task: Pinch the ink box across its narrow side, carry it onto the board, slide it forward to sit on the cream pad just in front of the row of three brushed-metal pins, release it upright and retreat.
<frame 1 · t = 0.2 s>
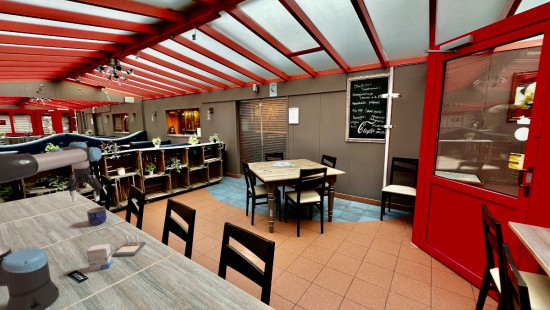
hand: (86, 200, 134), 28 cm above the table, fingers open, 13 cm apart
header board: (130, 250, 130), on the table
ink box: (101, 267, 115), on the table
planter: (98, 223, 164), on the table
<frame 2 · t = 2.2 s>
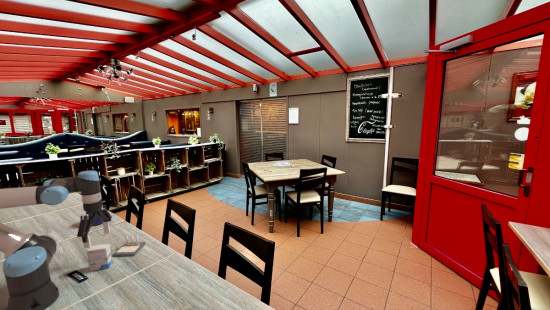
hand: (98, 240, 112), 16 cm above the table, fingers open, 13 cm apart
nothing on the table moved.
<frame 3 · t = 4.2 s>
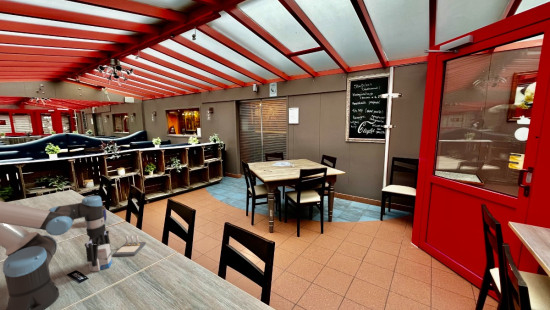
hand: (101, 266, 115), 0 cm above the table, fingers closed on ink box, 6 cm apart
ink box: (101, 267, 115), on the table, touching gripper
everything else where it was.
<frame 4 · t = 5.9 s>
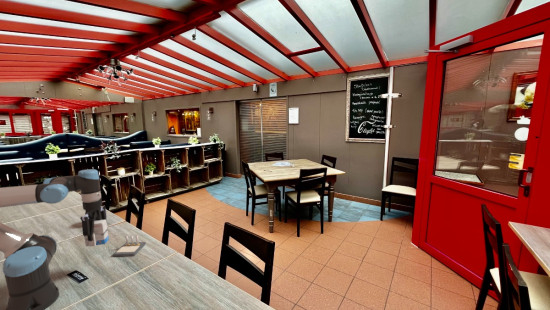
hand: (97, 242, 112), 14 cm above the table, fingers closed on ink box, 6 cm apart
ink box: (97, 243, 112), point 14 cm above the table, touching gripper
everything else where it was.
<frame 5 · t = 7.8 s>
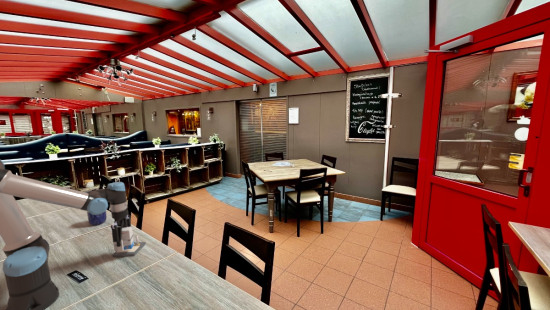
hand: (124, 247, 124), 5 cm above the table, fingers closed on ink box, 6 cm apart
ink box: (124, 248, 124), point 4 cm above the table, touching gripper
everything else where it was.
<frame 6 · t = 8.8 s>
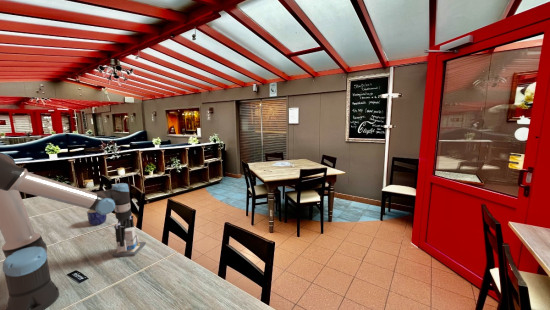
hand: (127, 247, 127), 3 cm above the table, fingers closed on ink box, 6 cm apart
ink box: (127, 248, 127), point 3 cm above the table, touching gripper
everything else where it was.
when the fingers open (3 cm above the table, at t = 10.9 s): ink box drops 1 cm, resting on header board.
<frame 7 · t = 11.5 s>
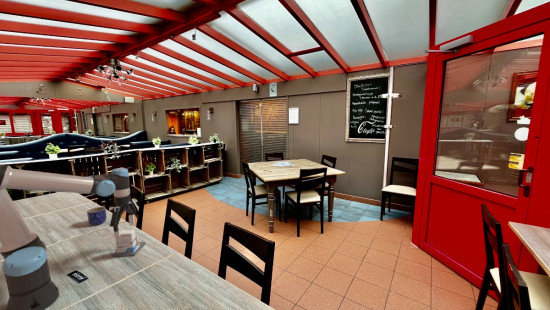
hand: (125, 230, 126), 14 cm above the table, fingers open, 13 cm apart
ink box: (127, 250, 127), point 1 cm above the table, touching header board
everything else where it was.
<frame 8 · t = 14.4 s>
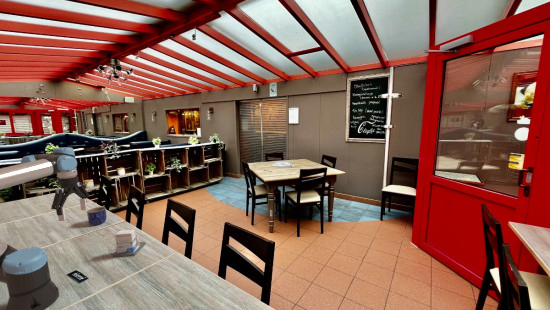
hand: (73, 214, 117), 27 cm above the table, fingers open, 13 cm apart
nothing on the table moved.
at the end: ink box 1.2 cm from the target spot on the header board, point 1.5 cm above the header board's base; ink box tilted 0°; the gripper is holding nothing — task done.
